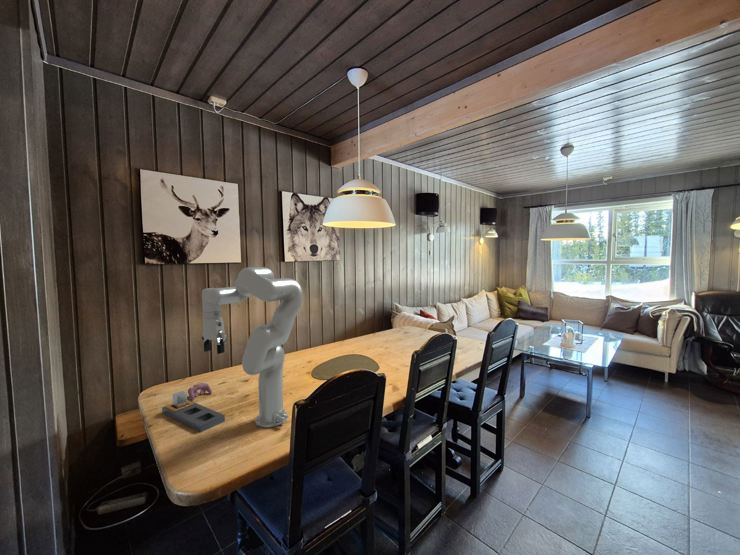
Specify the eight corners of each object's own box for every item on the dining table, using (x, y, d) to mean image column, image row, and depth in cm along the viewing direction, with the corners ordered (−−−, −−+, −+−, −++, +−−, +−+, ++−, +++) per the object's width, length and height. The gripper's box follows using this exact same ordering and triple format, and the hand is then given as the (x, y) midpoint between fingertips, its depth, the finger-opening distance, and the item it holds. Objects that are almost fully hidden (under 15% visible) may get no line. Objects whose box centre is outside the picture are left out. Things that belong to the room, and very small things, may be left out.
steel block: (187, 410, 137) (186, 392, 137) (177, 414, 134) (177, 396, 133) (182, 408, 139) (182, 390, 139) (173, 412, 136) (172, 394, 135)
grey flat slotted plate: (224, 421, 127) (224, 414, 127) (200, 432, 119) (200, 425, 119) (185, 404, 143) (185, 398, 143) (162, 413, 135) (161, 406, 135)
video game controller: (209, 395, 156) (206, 381, 158) (213, 393, 154) (210, 379, 155) (188, 402, 149) (185, 387, 150) (192, 400, 146) (188, 385, 148)
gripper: (231, 314, 140) (233, 351, 141) (208, 313, 149) (210, 348, 149) (216, 317, 134) (218, 356, 134) (193, 315, 142) (195, 352, 143)
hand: (214, 352), depth 142 cm, fingers open, 9 cm apart
